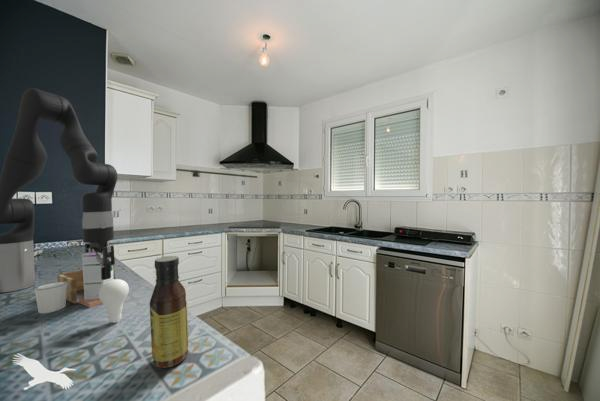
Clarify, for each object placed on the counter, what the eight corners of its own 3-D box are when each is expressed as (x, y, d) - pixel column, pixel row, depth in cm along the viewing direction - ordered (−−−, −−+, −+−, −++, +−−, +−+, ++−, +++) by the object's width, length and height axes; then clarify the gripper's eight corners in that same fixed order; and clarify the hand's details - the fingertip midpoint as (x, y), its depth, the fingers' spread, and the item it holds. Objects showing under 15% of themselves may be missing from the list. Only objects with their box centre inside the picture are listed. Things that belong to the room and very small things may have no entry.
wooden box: (58, 295, 81) (57, 274, 81) (95, 285, 90) (95, 267, 90) (73, 303, 75) (72, 280, 75) (112, 291, 84) (111, 271, 84)
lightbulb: (135, 318, 64) (134, 276, 64) (110, 330, 58) (109, 285, 58) (119, 315, 66) (118, 275, 66) (93, 326, 60) (92, 282, 60)
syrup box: (103, 299, 74) (102, 252, 74) (83, 300, 74) (81, 252, 74) (116, 292, 80) (114, 248, 80) (97, 293, 79) (95, 249, 79)
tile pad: (79, 302, 75) (78, 298, 75) (110, 293, 82) (110, 289, 82) (89, 307, 71) (89, 303, 71) (122, 297, 78) (121, 293, 78)
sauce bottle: (162, 350, 50) (159, 254, 50) (193, 348, 50) (190, 252, 50) (144, 373, 43) (140, 262, 43) (180, 370, 44) (177, 261, 44)
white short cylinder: (47, 315, 67) (46, 290, 67) (28, 313, 69) (27, 288, 68) (74, 304, 74) (73, 281, 74) (57, 303, 75) (56, 280, 75)
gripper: (73, 226, 77) (75, 277, 77) (93, 228, 70) (95, 284, 70) (102, 224, 83) (103, 271, 83) (123, 225, 76) (124, 276, 76)
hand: (100, 277), depth 77 cm, fingers open, 8 cm apart
